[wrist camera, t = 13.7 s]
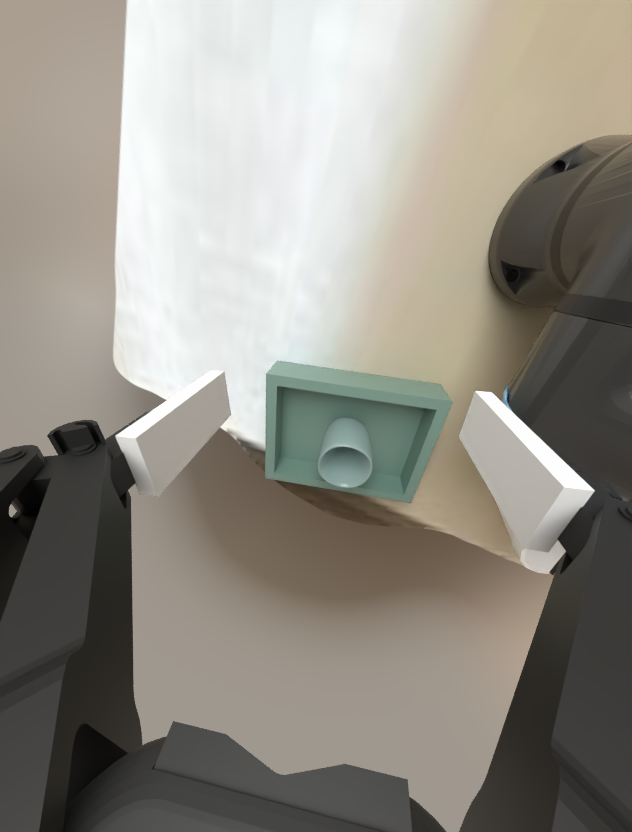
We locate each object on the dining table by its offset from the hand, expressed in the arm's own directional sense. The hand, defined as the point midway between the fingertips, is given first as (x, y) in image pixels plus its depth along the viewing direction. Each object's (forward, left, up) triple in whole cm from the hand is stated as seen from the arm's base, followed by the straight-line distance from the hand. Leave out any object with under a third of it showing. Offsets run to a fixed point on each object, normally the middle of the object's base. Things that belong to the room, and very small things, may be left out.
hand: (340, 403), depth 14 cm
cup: (-3, +18, -26) cm, 32 cm away
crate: (-3, +18, -27) cm, 33 cm away
